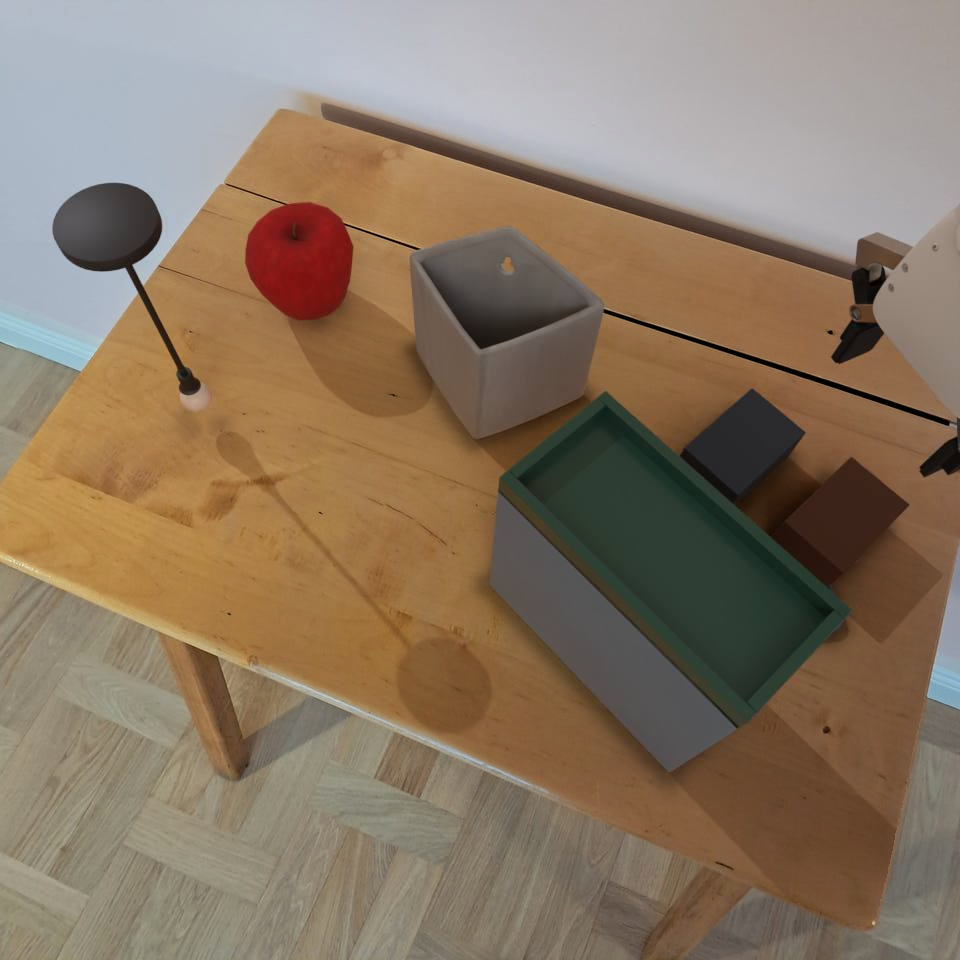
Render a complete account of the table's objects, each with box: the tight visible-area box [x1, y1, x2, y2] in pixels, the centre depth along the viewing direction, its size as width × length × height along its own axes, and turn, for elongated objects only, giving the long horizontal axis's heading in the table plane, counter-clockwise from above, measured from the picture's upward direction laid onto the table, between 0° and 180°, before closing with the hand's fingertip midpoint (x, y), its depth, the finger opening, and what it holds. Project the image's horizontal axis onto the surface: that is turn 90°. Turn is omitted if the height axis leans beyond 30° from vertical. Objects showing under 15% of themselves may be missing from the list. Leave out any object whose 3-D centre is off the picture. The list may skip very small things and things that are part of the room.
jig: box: [497, 390, 853, 730], centre depth 53 cm, size 20×10×2 cm, turn 42°
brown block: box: [770, 456, 910, 587], centre depth 73 cm, size 6×9×4 cm, turn 132°
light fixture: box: [51, 182, 213, 413], centre depth 67 cm, size 7×7×25 cm
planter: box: [409, 225, 605, 440], centre depth 71 cm, size 16×8×19 cm, turn 73°
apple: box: [244, 201, 354, 321], centre depth 80 cm, size 10×10×11 cm
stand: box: [488, 491, 738, 774], centre depth 62 cm, size 20×10×18 cm, turn 42°
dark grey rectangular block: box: [679, 388, 806, 507], centre depth 76 cm, size 6×9×4 cm, turn 132°
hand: (892, 408), depth 59 cm, fingers open, 9 cm apart
